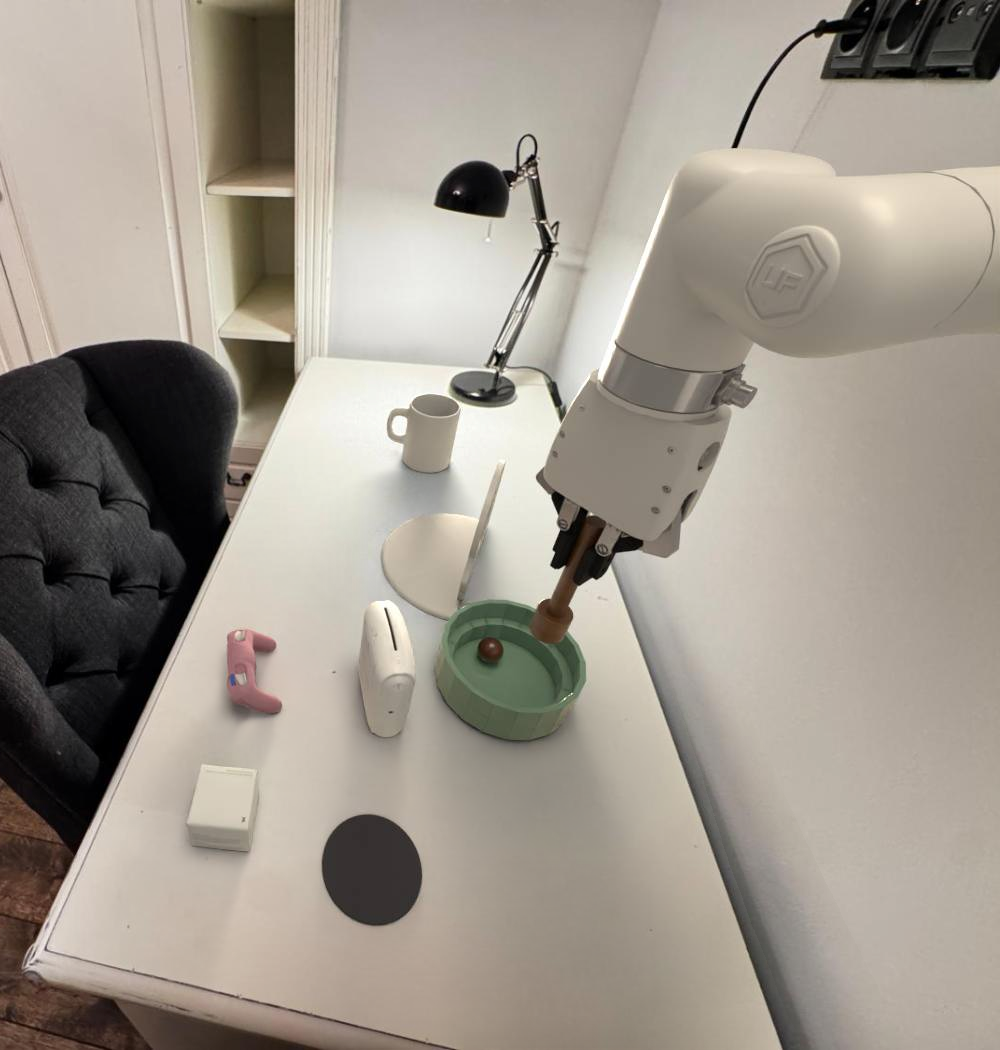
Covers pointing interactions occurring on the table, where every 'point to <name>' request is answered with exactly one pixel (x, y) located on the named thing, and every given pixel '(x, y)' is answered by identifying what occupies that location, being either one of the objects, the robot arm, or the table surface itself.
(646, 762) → the table surface
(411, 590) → the ornament
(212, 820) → the small box
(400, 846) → the coaster
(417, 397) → the mug
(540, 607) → the pestle
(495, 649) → the chestnut
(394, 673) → the photo printer
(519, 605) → the bowl
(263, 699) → the video game controller
